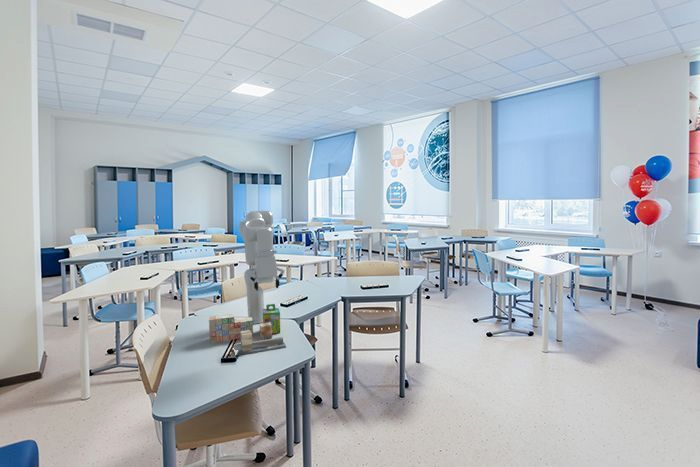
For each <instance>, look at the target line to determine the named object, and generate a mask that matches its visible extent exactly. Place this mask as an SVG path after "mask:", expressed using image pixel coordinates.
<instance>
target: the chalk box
mask: <svg viewBox="0 0 700 467" xmlns="http://www.w3.org/2000/svg"><path fill="white" fill-rule="evenodd" d="M270 307H272V308H270ZM269 322H270V323H271V325H272V335H274V334H281V311H280V307H276V304H275V303H269V304H266V308H264V309H263V322H262V323H269Z"/></svg>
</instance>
